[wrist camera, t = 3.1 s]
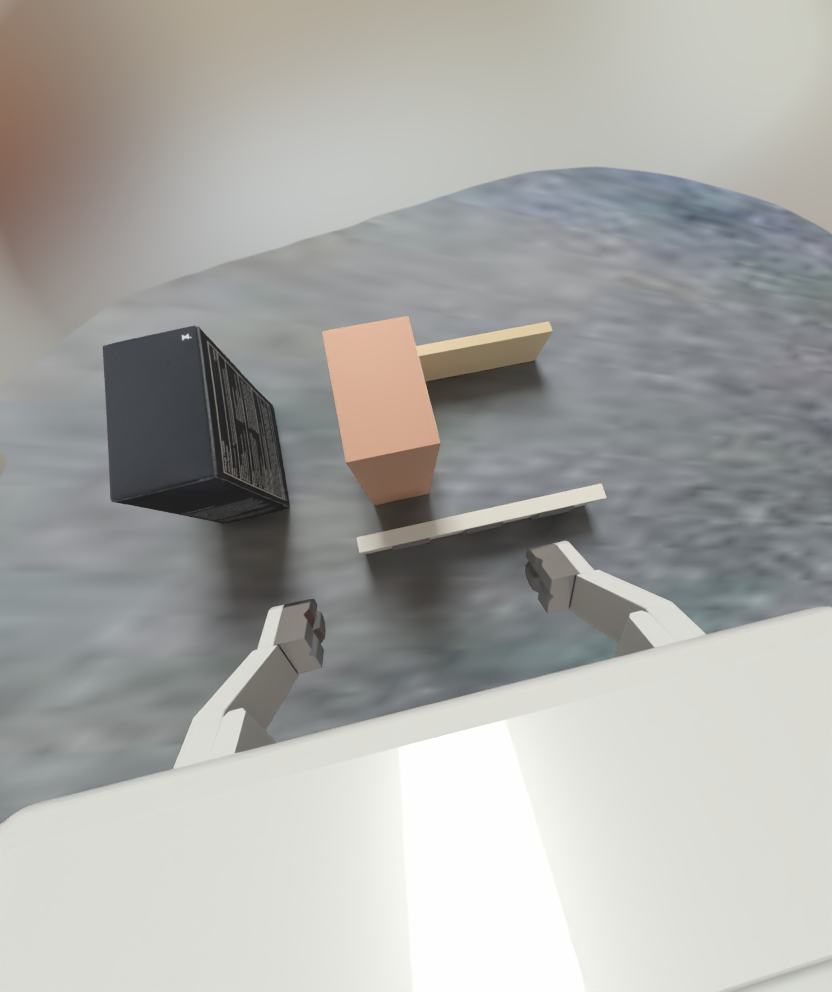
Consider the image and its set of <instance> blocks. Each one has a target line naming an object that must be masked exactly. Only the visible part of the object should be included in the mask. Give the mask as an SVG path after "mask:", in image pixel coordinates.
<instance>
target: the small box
mask: <svg viewBox="0 0 832 992" xmlns="http://www.w3.org/2000/svg"><path fill="white" fill-rule="evenodd" d="M103 358H104V377H105V394H106V413H107V433H108V452H109V475H110V499H111V501H112V502H116V503H122V504H128V505H133V506H138V507H143V508H149V509H154V510H159V511H164V512H169V513H175V514H180V515H185V516H189V517H195V518H200V519H204V520H210V521H215V522H219V523H228V522H232V521H237V520H241V519H245V518H250V517H254V516H258V515H262V514H266V513H270V512H275V511H279V510H283V509H287V508H288V507H289V501H288V494H287V488H286V482H285V475H284V469H283V464H282V458H281V451H280V446H279V439H278V434H277V428H276V422H275V417H274V411H273V405H272V404H271V403H270V402H269V401H268V400H267V399H266V398H265V397H264V396H262V394H261V393H260V392H259V391H258V390H257V389H256V388H255V387H254V386H253V385H252V384H251V383H250V382H249V381H248V380H247V379H246V378H245V376H244V375H242V373H241V372H240V371H239V370H238V369H237V368H236V367H235V365H234V364H233V363H232V362H231V361H230V360H229V359H228V358H227V357H226V356H225V355H224V354H223V353H222V352H221V351H220V349H219V348H218V347H217V346H216V345H215V344H214V343H213V342H212V341H211V340H210V339H209V338H208V337H207V336H206V335H205V333H204V332H203V331H202V330H201V329H200V328H199V327H198V326H197V325H192V326H188V327H184V328H180V329H175V330H170V331H166V332H161V333H157V334H152V335H147V336H143V337H139V338H133V339H129V340H125V341H120V342H116V343H112V344H107V345H104V346H103Z"/></svg>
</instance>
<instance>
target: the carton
mask: <svg viewBox="0 0 832 992" xmlns="http://www.w3.org/2000/svg"><path fill="white" fill-rule="evenodd" d="M322 333H323V339H324V344H325V350H326V355H327V361H328V366H329V372H330V377H331V383H332V388H333V394H334V399H335V405H336V410H337V416H338V421H339V427H340V432H341V438H342V443H343V449H344V454H345V459H346V463H347V465H348V466H349V468H350V469H351V471H352V472H353V474H354V475H355V477H356V478H357V480H358V481H359V483H360V485H361V486H362V488H363V489H364V491H365V492H366V494H367V495H368V497H369V498H370V500H371V501H372V503H373V504H374V505H379V504H384V503H388V502H393V501H398V500H402V499H407V498H412V497H416V496H421V495H426V494H429V490H430V486H431V482H432V477H433V473H434V469H435V464H436V460H437V456H438V451H439V447H440V439H439V435H438V430H437V426H436V422H435V418H434V414H433V411H432V407H431V403H430V399H429V395H428V391H427V387H426V383H425V379H424V375H423V371H422V367H421V363H420V359H419V356H418V352H417V348H416V344H415V341H414V337H413V333H412V329H411V325H410V321H409V317H408V316H405V317H399V318H394V319H388V320H382V321H377V322H371V323H366V324H360V325H355V326H349V327H344V328H338V329H332V330H327V331H322Z"/></svg>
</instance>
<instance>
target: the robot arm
mask: <svg viewBox="0 0 832 992" xmlns="http://www.w3.org/2000/svg"><path fill="white" fill-rule="evenodd" d="M526 558H527V559H528V561H529V562H528V563H527V564H526V565H525V573H526V577H527V580H528V583H529V585H530V586H531V588H532V590H534V591H536V592H538V593H539V595H538V600H539V601H540V603H541V604H542V606H543V608H544V609H545V611H546V612H547V614H548V613H553V612H557V611H562V610H567V609H570V611H572V612H573V613H575V614H576V615H578V616H579V617H581V618H582V619H584V620H585V621H586V622H588V623H589V624H591V625H592V626H594V627H595V628H597V629H598V630H600V631H601V632H603V633H604V634H606V635H607V636H609V637H610V638H612V639H613V640H615V641H616V642H618V643H619V645H618V647H617V650H616V653H615V656H614V658H612V659H608V660H604V661H600V662H596V663H592V664H588V665H584V666H580V667H576V668H572V669H568V670H564V671H560V672H556V673H552V674H548V675H544V676H540V677H536V678H532V679H528V680H524V681H520V682H516V683H512V684H508V685H504V686H500V687H496V688H492V689H488V690H484V691H480V692H476V693H472V694H468V695H465V696H461V697H457V698H453V699H449V700H445V701H441V702H437V703H433V704H429V705H425V706H421V707H417V708H413V709H409V710H405V711H401V712H397V713H393V714H389V715H385V716H381V717H377V718H373V719H369V720H365V721H362V722H358V723H354V724H350V725H346V726H342V727H338V728H334V729H330V730H326V731H322V732H318V733H314V734H310V735H306V736H302V737H298V738H294V739H290V740H286V741H282V742H278V743H277V742H276V741H275V740H274V739H273V738H272V737H271V736H270V735H269V734H268V733H267V732H266V729H267V727H268V726H269V724H270V722H271V721H272V719H273V717H274V716H275V714H276V712H277V711H278V709H279V707H280V706H281V704H282V702H283V700H284V699H285V697H286V695H287V694H288V692H289V690H290V689H291V687H292V685H293V684H294V682H295V680H296V679H297V677H298V674H301V673H304V672H308V671H312V670H315V669H319V668H322V663H323V653H324V649H323V647H322V645H321V643H322V642H323V640H324V639H325V631H326V630H325V621H324V618H323V615H322V613H321V612H319V611H317V603H316V602H315V600H314V599H309V600H304V601H299V602H294V603H289V604H285V605H281V606H276V607H271V609H270V610H269V611H268V614H267V617H266V621H265V624H264V628H263V631H262V634H261V638H260V641H259V645H258V648H257V650H254V651H252V652H251V653H250V655H249V656H248V657H247V658H246V659H245V660H244V661H243V662H242V664H241V665H240V666H239V667H238V668H237V669H236V670H235V672H234V673H233V674H232V675H231V676H230V677H229V678H228V680H227V681H226V682H225V683H224V684H223V685H222V686H221V688H220V689H219V690H218V691H217V692H216V693H215V694H214V695H213V697H212V698H211V699H210V700H209V701H208V702H207V703H206V705H205V706H204V707H203V708H202V709H201V710H200V711H199V713H198V714H197V715H196V716H195V717H194V718H193V721H192V723H191V726H190V728H189V731H188V733H187V736H186V738H185V741H184V743H183V746H182V748H181V751H180V753H179V756H178V758H177V761H176V763H175V766H174V768H173V769H171V770H167V771H163V772H159V773H155V774H151V775H147V776H143V777H139V778H135V779H131V780H127V781H123V782H119V783H115V784H111V785H107V786H103V787H99V788H95V789H91V790H87V791H83V792H79V793H75V794H71V795H67V796H63V797H59V798H55V799H51V800H46V801H42V802H39V803H35V804H32V805H30V806H27V807H25V808H23V809H21V810H19V811H17V812H16V813H14V814H13V815H11V816H10V817H9V818H8V819H7V820H5V821H4V822H3V823H2V824H0V992H832V607H815V608H810V609H806V610H802V611H798V612H794V613H790V614H786V615H782V616H778V617H774V618H770V619H766V620H762V621H758V622H754V623H750V624H746V625H742V626H738V627H735V628H731V629H727V630H723V631H719V632H715V633H711V634H707V635H706V634H705V633H704V632H703V631H702V630H701V629H700V628H699V627H698V626H697V625H696V624H695V623H694V622H692V621H691V620H690V619H689V618H688V617H687V616H686V615H685V614H684V613H683V612H682V611H681V610H680V609H679V608H678V607H677V606H676V605H675V604H674V603H672V602H671V601H668V600H666V599H664V598H661V597H659V596H657V595H655V594H652V593H650V592H648V591H646V590H643V589H641V588H639V587H636V586H634V585H632V584H630V583H627V582H625V581H623V580H621V579H618V578H616V577H614V576H611V575H609V574H607V573H605V572H602V571H600V570H594V569H593V568H592V567H591V566H590V565H589V564H588V563H587V562H586V560H585V559H584V558H583V557H582V556H581V555H580V554H579V553H578V552H577V550H576V549H575V548H574V547H573V546H572V545H571V544H570V543H569V542H568V541H562V542H558V543H553V544H549V545H545V546H540V547H536V548H532V549H528V550H527V552H526Z"/></svg>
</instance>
